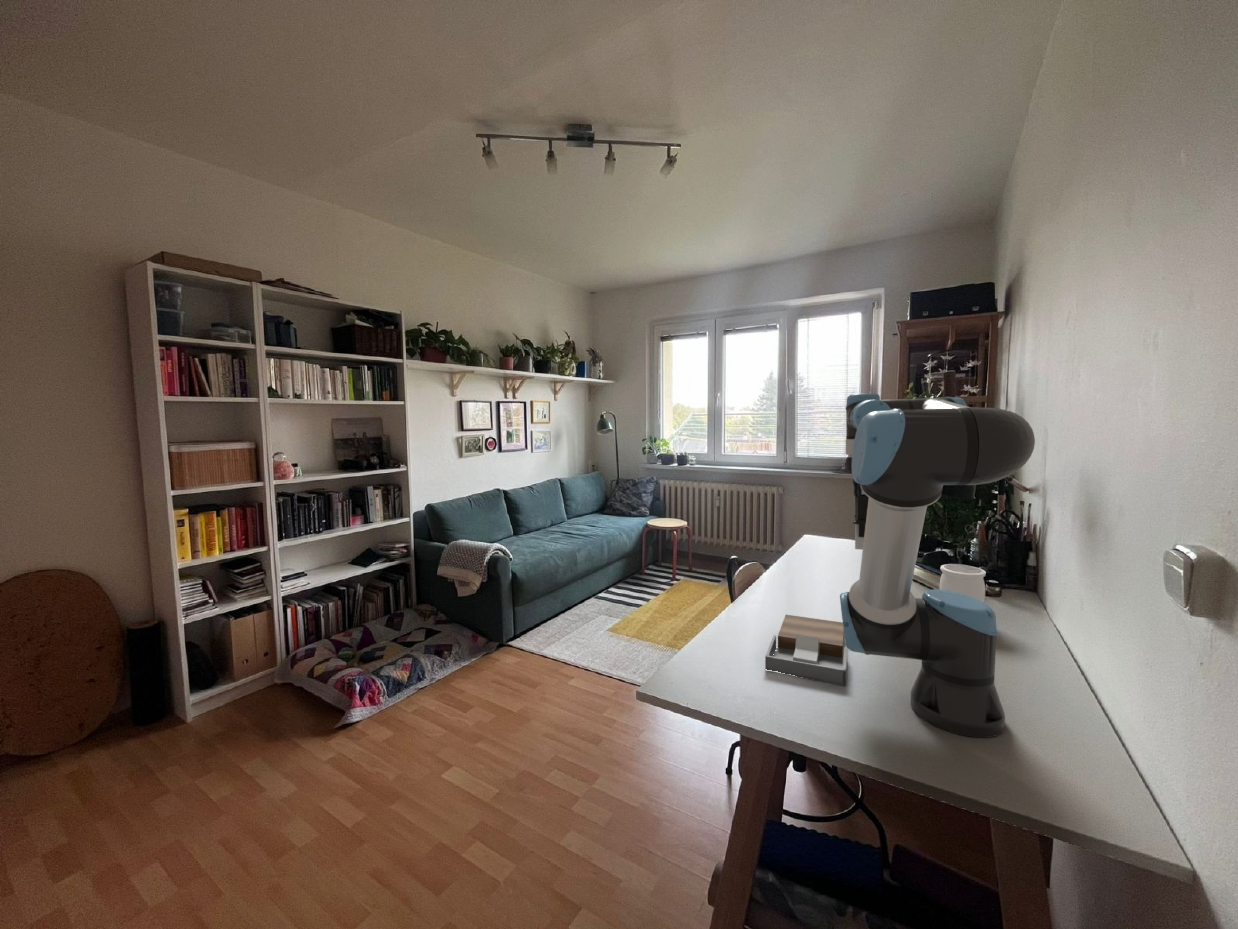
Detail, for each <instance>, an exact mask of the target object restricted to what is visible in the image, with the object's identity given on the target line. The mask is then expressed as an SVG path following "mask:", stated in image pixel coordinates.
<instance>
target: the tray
mask: <svg viewBox="0 0 1238 929" xmlns="http://www.w3.org/2000/svg"><path fill="white" fill-rule="evenodd" d="M776 647H778V646H777V634H773V636H772V638H771V641H770V643H769V646H768V648H767V651H766V653H765V656H764V658H765V660H764V662H765V663H764V664H765V669H767V670H772V671H778V672H781V673H785V674H791V675H795V676H797V678H800V677H803V678H802V679H805V678H808V679H807V680H811V679H813V680H812V681H817V682H821V681H822V682H821V683H827V684H832V685H837V684H838V686H843V687H846V686H847V671H848V668H847V666H848V664H847V663H848V648H847V647H846V645H843V658H840V657H834V656H828V655H822V654H819V659H818V664H812V663H807V662H801V661H796V660H793V655H794V652H795V650H792V649H786V648H781V647H778V648H776ZM775 650H777V651H775ZM773 654H774V655H773ZM785 674H784V675H785ZM795 676H794V677H795Z"/></svg>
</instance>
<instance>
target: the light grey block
mask: <svg viewBox="0 0 1238 929" xmlns="http://www.w3.org/2000/svg"><path fill="white" fill-rule="evenodd" d="M793 660H796V661H801V662H807V663H812V664H818V652H817V651H811V650H805V649H799V648H795V652H794V655H793Z"/></svg>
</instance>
